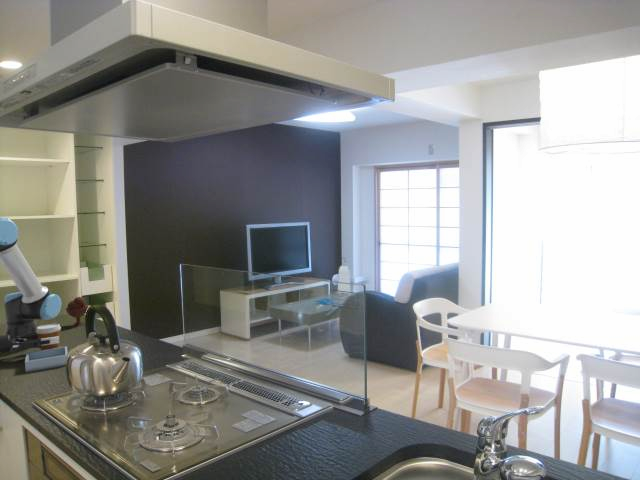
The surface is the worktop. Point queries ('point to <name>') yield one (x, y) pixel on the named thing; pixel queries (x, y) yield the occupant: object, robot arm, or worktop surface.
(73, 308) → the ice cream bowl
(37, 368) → the tote
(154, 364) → the worktop surface
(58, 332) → the disposable coffee cup
